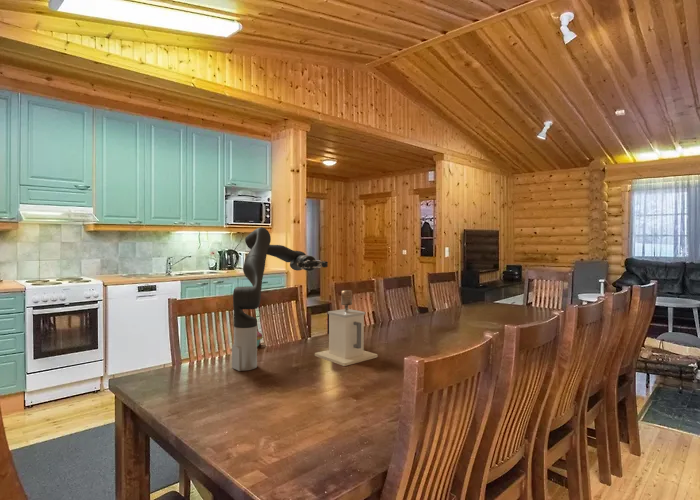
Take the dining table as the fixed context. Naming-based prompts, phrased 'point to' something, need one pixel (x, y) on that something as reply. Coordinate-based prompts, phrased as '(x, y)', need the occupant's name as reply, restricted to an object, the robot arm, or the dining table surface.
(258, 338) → the cupcake
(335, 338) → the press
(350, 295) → the plunger
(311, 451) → the dining table surface
